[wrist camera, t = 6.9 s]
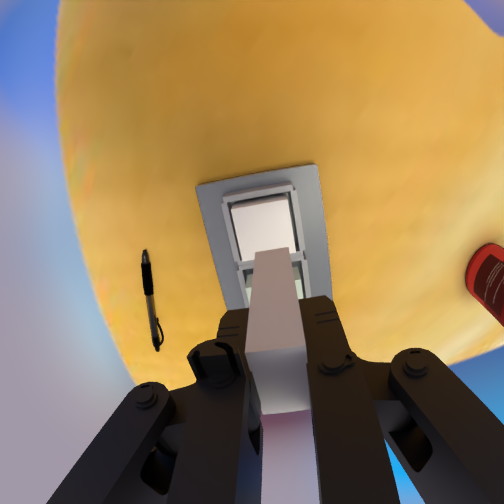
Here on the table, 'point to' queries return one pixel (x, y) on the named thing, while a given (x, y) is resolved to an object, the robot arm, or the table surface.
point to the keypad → (302, 218)
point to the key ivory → (263, 225)
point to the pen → (150, 301)
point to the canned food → (488, 279)
